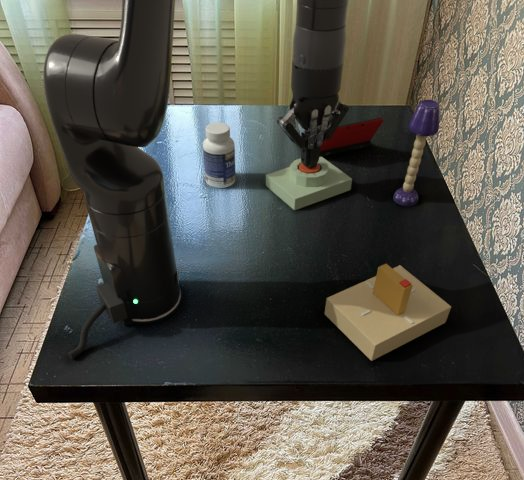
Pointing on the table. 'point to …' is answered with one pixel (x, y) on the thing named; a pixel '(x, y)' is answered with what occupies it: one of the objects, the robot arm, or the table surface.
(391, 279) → the lock knob
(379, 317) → the plate
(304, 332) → the table surface
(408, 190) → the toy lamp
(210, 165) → the pill bottle
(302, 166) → the bell button
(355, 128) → the handheld game console
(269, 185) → the pale green button base
